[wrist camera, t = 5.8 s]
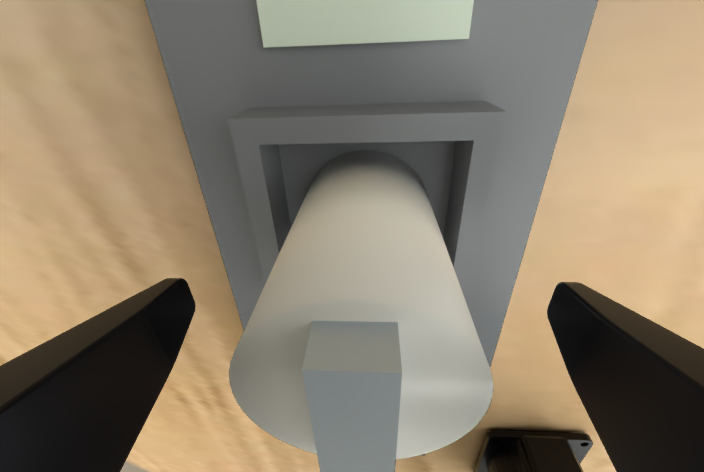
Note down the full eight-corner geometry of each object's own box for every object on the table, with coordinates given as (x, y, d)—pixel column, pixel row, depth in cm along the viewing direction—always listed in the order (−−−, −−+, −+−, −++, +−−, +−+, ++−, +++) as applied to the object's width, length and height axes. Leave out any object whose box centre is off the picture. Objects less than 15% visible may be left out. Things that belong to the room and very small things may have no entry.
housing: (477, 358, 18) (510, 459, 13) (266, 353, 18) (233, 446, 14) (642, -286, 7) (1105, -860, 2) (111, -229, 8) (-227, -583, 3)
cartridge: (422, 259, 12) (481, 516, 6) (312, 258, 13) (243, 502, 6) (433, 148, 10) (552, 353, 3) (300, 151, 11) (163, 344, 4)
